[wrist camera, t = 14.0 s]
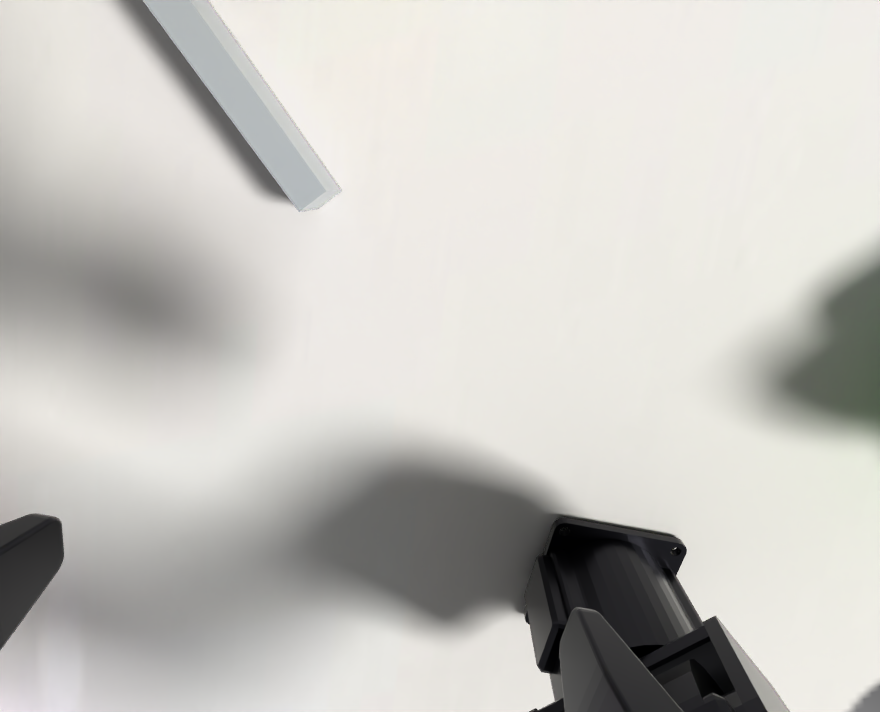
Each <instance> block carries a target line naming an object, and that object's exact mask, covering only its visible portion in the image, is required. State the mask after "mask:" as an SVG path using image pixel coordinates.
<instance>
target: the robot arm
mask: <svg viewBox="0 0 880 712" xmlns="http://www.w3.org/2000/svg"><path fill="white" fill-rule="evenodd" d="M563 527H567V529H566V530H560V529H561V528H563ZM676 547H677V548H676ZM673 548H676V549H674V550H672V549H673ZM686 551H687V549H686V547H685V545H684V544H683V542H682V541H681V540H680V539H678V538H675V537H670V536H664V535H659V534H653V533H648V532H642V531H637V530H631V529H626V528H620V527H615V526H609V525H604V524H598V523H593V522H587V521H582V520H576V519H571V518H559V519H557V520H555V521H554V523H553V525H552V528H551V531H550V534H549V537H548V540H547V543H546V546H545V549H544V552H543V554H541V555H539V556H538V557H537V558H536V561H535V564H534V568H533V571H532V574H531V577H530V580H529V583H528V586H527V589H526V592H525V601H526V606H525V609H524V615H525V620H526V622H527V623H528V624H530V629H531V635H532V640H533V646H534V652H535V657H536V663H537V666H538V668H539V669H540V671H541V672H544V673H549V674H550V679H551V684H552V689H553V694H554V699H555V702H553V703H551V704H549V705H547V706H545V707H543V708H541V709H539V710H537V709H536V708H535V709H533V710H531V711H529V712H790V711H789V710H788V708H787V707H786V705H785V704H784V702H783V701H782V699H781V698H780V696H779V695H778V693H777V692H776V690H775V689H774V688H773V686H772V685H771V684H770V682H769V681H768V680H767V679H766V677H765V676H764V675H763V674H762V672H761V671H760V670H759V669H758V668H757V666H756V665H755V664H754V663H753V661H752V660H751V659H750V658H749V656H748V655H747V654H746V653H745V651H744V650H743V649H742V648H741V646H740V645H739V644H738V643H737V641H736V640H735V639H734V638H733V637H732V635H731V634H730V633H729V632H728V630H727V629H726V628H725V627H724V625H723V624H722V623H721V622H720V620H719V619H718V618H717V617H716V616H714V617H712V618H710V619H708V620H706V621H704V622H702V620H701V619H700V617H699V615H698V613H697V612H696V610H695V608H694V606H693V605H692V603H691V601H690V600H689V598H688V596H687V594H686V593H685V591H684V589H683V587H682V586H681V584H680V582H679V580H678V579H677V577H676V575H677V572H678V570H679V568H680V566H681V564H682V561H683V559H684V557H685V555H686ZM63 558H64V547H63V534H62V524H61V521H60V520H59V518H57V517H54V516H48V515H42V514H29V515H26V516H23V517H21V518H18V519H15V520H13V521H10V522H8V523H5V524H2V525H0V650H1V649H2V648H3V646H4V645H5V644H6V642H7V641H8V639H9V638H10V637H11V635H12V634H13V633H14V631H15V630H16V628H17V627H18V626H19V624H20V623H21V621H22V620H23V619H24V617H25V616H26V615H27V613H28V612H29V610H30V609H31V608H32V606H33V605H34V603H35V602H36V601H37V599H38V598H39V597H40V595H41V594H42V592H43V591H44V590H45V588H46V587H47V585H48V584H49V583H50V581H51V580H52V579H53V577H54V576H55V574H56V573H57V572H58V570H59V568H60V566H61V564H62V562H63Z"/></svg>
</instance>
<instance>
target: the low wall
mask: <svg viewBox="0 0 880 712" xmlns="http://www.w3.org/2000/svg"><path fill="white" fill-rule="evenodd" d="M143 2H144V3H145V4H146V6H147V7H148V8H149V10H150V11H151V12H152V14H153V15H154V17H155V18H156V19H157V21H158V22H159V23H160V25H161V26H162V27H163V29H164V30H165V31H166V33H167V34H168V35H169V37H170V38H171V40H172V41H173V42H174V44H175V45H176V46H177V48H178V49H179V50H180V52H181V53H182V54H183V56H184V57H185V58H186V60H187V61H188V63H189V64H190V65H191V67H192V68H193V69H194V71H195V72H196V73H197V75H198V76H199V77H200V79H201V80H202V81H203V83H204V84H205V86H206V87H207V88H208V90H209V91H210V92H211V94H212V95H213V96H214V98H215V99H216V100H217V102H218V103H219V104H220V106H221V107H222V109H223V110H224V111H225V113H226V114H227V115H228V117H229V118H230V119H231V121H232V122H233V123H234V125H235V126H236V127H237V129H238V130H239V132H240V133H241V134H242V136H243V137H244V138H245V140H246V141H247V142H248V144H249V145H250V146H251V148H252V149H253V150H254V152H255V153H256V155H257V156H258V157H259V159H260V160H261V161H262V163H263V164H264V165H265V167H266V168H267V169H268V171H269V172H270V173H271V175H272V176H273V178H274V179H275V180H276V182H277V183H278V184H279V186H280V187H281V188H282V190H283V191H284V192H285V194H286V195H287V197H288V198H289V199H290V201H291V202H292V203H293V205H294V206H295V207H296V209H297V210H298V211H299V212H301V211H308V210H314V209H319V208H320V207H321V206H323V205H324V204H325V203H327V202H328V201H329V200H331V199H332V198H333V197H335V196H336V195H337V194H338V193H340V192H341V191H342V190H341V188H340V187H339V186H338V184H337V183H336V181H335V180H334V178H333V177H332V176H331V174H330V173H329V171H328V170H327V168H326V167H325V166H324V164H323V163H322V161H321V160H320V158H319V157H318V156H317V154H316V153H315V151H314V150H313V149H312V147H311V146H310V144H309V143H308V141H307V140H306V139H305V137H304V136H303V134H302V133H301V131H300V130H299V129H298V127H297V126H296V124H295V123H294V121H293V120H292V119H291V117H290V116H289V114H288V113H287V112H286V110H285V109H284V107H283V106H282V104H281V103H280V102H279V100H278V99H277V97H276V96H275V94H274V93H273V92H272V90H271V89H270V87H269V86H268V84H267V83H266V82H265V80H264V79H263V77H262V76H261V75H260V73H259V72H258V70H257V69H256V67H255V66H254V65H253V63H252V62H251V60H250V59H249V57H248V56H247V55H246V53H245V52H244V50H243V49H242V47H241V46H240V45H239V43H238V42H237V40H236V39H235V38H234V36H233V35H232V33H231V32H230V30H229V29H228V28H227V26H226V25H225V23H224V22H223V20H222V19H221V18H220V16H219V15H218V13H217V12H216V10H215V9H214V8H213V6H212V5H211V3H210V2H209V1H208V0H143Z"/></svg>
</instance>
